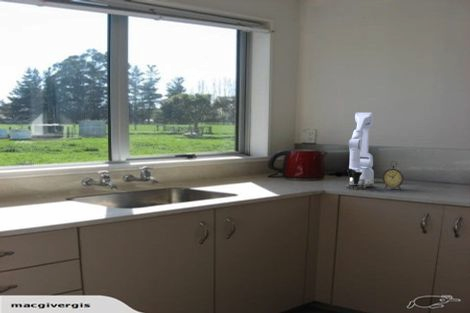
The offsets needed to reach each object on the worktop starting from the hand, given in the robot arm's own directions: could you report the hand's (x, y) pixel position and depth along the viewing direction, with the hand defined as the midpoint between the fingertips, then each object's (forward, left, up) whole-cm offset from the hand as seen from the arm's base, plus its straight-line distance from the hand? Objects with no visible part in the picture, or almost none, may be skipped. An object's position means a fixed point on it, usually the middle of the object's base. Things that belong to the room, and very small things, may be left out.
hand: (353, 182), depth 237 cm
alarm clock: (-18, +12, -3) cm, 22 cm away
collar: (0, 0, -3) cm, 3 cm away
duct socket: (-4, 0, -3) cm, 5 cm away
